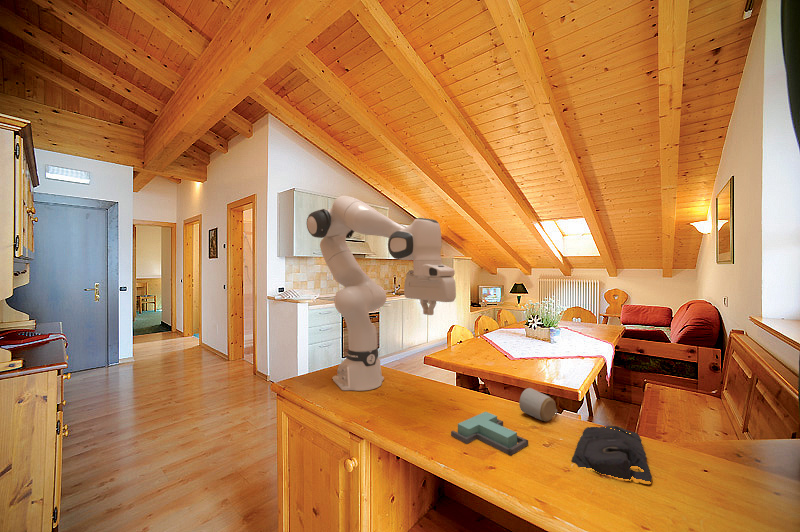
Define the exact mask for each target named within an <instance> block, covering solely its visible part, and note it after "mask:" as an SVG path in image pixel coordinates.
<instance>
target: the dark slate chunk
mask: <svg viewBox="0 0 800 532" xmlns="http://www.w3.org/2000/svg"><path fill="white" fill-rule="evenodd" d="M605 427H606V428H605ZM610 428H612V429H610ZM614 429H615V430H614ZM619 430H620V431H619ZM626 432H627V433H626ZM629 433H631V434H629ZM646 453H647V452H646V451H645V449H644V446H643V444H642V438H641V435H639V434H638V433H637V432H634V431H631V430H628V429H624V428H623V427H619V426H616V425H604V427H603V426H590V427H589V426H588V427H586V428H584V430H583V431H582V434H581V436H580V438H579V440H578V443H577V445H576V448H575V451H574V453H573V456H572V457H571V463H573V464H575V465H577V467H578V468H580V467H586V468H592V469H594V470H595V471H597V472H599V473H601V474H606V475H611V476H614V477H618V478H623V479H629V480H630V479H631V477H632V476H633V477H634V478H636V479H642V480H645V481H650V482H651V480H652V478H653V476H652V474H651V470H650V467H649V464H648V461H647V458H648V457H647V454H646ZM631 466H638V467H640V468H641V469H643V470H644V472H641V471H638V470H637V471H636V470H634V469H631V468H630V467H631ZM599 473H598V474H599Z"/></svg>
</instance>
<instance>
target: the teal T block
mask: <svg viewBox="0 0 800 532" xmlns="http://www.w3.org/2000/svg"><path fill="white" fill-rule="evenodd" d="M497 419H498V416H497V415H495V414H493V413H491V412H488V411H484V412H480V414H476V415H475V416H472V417H470V418H467V419H465V420H464V421H460V422H459V423H457V433H459V434H461V435H463V436H465V437H468V436H470V435H472V434H474V433H476V432H477V433H479V434H481V435H483V436H485V437H487V438H489V439H491V440H493V441H495V442H498V443H500V444H502V445H504V446H506V447H508V448H511V447H513V446H514V445H516V444H518V442H517V436H518V432H516V431H515V430H513V429H509V428H507V427H505V426H504V425H503V426H500V425H498V424H496V422H497Z"/></svg>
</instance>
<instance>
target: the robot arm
mask: <svg viewBox="0 0 800 532" xmlns="http://www.w3.org/2000/svg"><path fill="white" fill-rule="evenodd" d="M306 229H307V230H308V233H309V234H310V235H311V236H312V237H314V238H316V239H317V238H318V239H321V241H320V242H319V248H320V251H321V253H322V257H323V259H324V262H325V263H326V266H327V267H328V269H329V271H330V273H331V275H332V277H333V278H334V280H335V281H336V282H337V283H338V284H339V285H341V286H343V287H344V288H341V289H339V290H338V291H337V292H336V294H335V295H334V306H335V309H336V310H337V312H338V313H340V314H341V316H342V317H343V319H344V321H345V324H346V328H347V336H348V337H347V339H348V340H347V341H348V348H346V349H345V350H346V351H345V352H346V356H345V359H343V361H342V362H340V363H339V364H338V368H337V370H336V371H337V374H336V375H334V376H332V379H333V380H332V379H331V380H332V381H333V382H334V383H335V384H336V386H337V387H338V388H339V389H340V390H341V391H357V392H358V391H359V392H361V391H362V392H363V391H364V392H365V391H371V390H374V389H377V388H379V387H380V386H382V385H383V381H384V380H385V376H383V375H382V366H381V365H382V364H381V360H380V359H379V348H378V347H379V346H378V342H377V340H378V335H377V326H375V325H374V324H373V323H372V320H371V319H370V314H369V313H370V312H373V311H377V310H378V309H380V308H382V307H383V306H384V305H385V304H386V302H387V293H386V290H385V289H384V287H382V286H381V285H379V284H377V282H375V281H374V280H373V279H372V278H371V277H370V276H369V275H368V274H367V273H366V272H365V271H364V270H363V269H362V268H361V266H360V264H359V263H358V261H357V259H356V258H355V256H354V255H353V252H352V251H351V249H350V247H349V246H348V244H347V239H350V238H352V237H353V234H354V233H358V234H361V235H366V236H377V237H378V236H379V237H384V238H388V241H387V248H388V252H389V255H390V256H391V257H392V258H393V259H396V260H399V261H413V266H412V267H413V268H412V269H410V270H408V271H407V272H406V275H405V278H404V285H403V286H404V288H403V294H404V298H406V299H413V300H420V301H419V304H420V305H421V308H422V314H423V315H427V316H433V315H434V309H435V307H436V306H437V302H439V303H440V302H441V303H453V302H455V299H456V298H457V297H456V296H457V288H456V287H457V286H456V281H455V280H456V279H455V278H454V277H453V276H455V273H456V272H455V269H454V268H452V267H450V266H448V265H445V264H444V263H443V259H442V254H441V250H442V243H443V242H442V230H441V225H440V223H439V222H438V221H437V220H436V219H431V218H426V217H425V218H424V217H417V218H414V220H413V221H412V223H411V224H409V225H407V226H405V225H402V223H401V224H400V223H398V222H396V221H395V220H393V219H391V218H389V216H386V215H385V214H383V213H381V212H380V211H378V210H376V209H375V208H374V207H372V206H370V205H369V204H368V203H366V202H364V201H362V200H360V199H358V198H356V197H352V196H349V195H340V196H338V197H336V199H335V200H334V201H333V202H332V207H331V208H328V209H327V208H322V209H318V210H314V211H313V212H311V213H309V215H308V217H307V219H306Z"/></svg>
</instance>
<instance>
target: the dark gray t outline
mask: <svg viewBox="0 0 800 532" xmlns="http://www.w3.org/2000/svg"><path fill="white" fill-rule="evenodd" d="M496 424H498V425H500V426H503V427H504V420H501V419H499V418H497V422H496ZM450 436H451V437H453V438H454V439H456V440H459V441H460V442H461V443H463V444H466V445H468V444H469V443H471V442H474V441H475V440H477V441H481V442H482V443H484V444H486V445H488V446H490V447H492V448H494V449H496V450H498V451H500V452H502V453H504V454H507V455H508V456H510V457H511V456H513V455H514V454H516V453H518V452H519V451H521V450H522V449H525V448H526V447H528V446H529V440H528V439H526V438H524V437H521V436H519V435H517V444H516V445H514V446H513V447H511V448H508V447H506V446H504V445H502V444H500V443H498V442H495V441H493V440H491V439H489V438H487V437H485V436H483V435H481V434H479V433H477V432H476V433H474V434H472V435H470V436H468V437H465V436H463V435H461V434H459V433H458V431H455V430H450Z"/></svg>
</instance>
